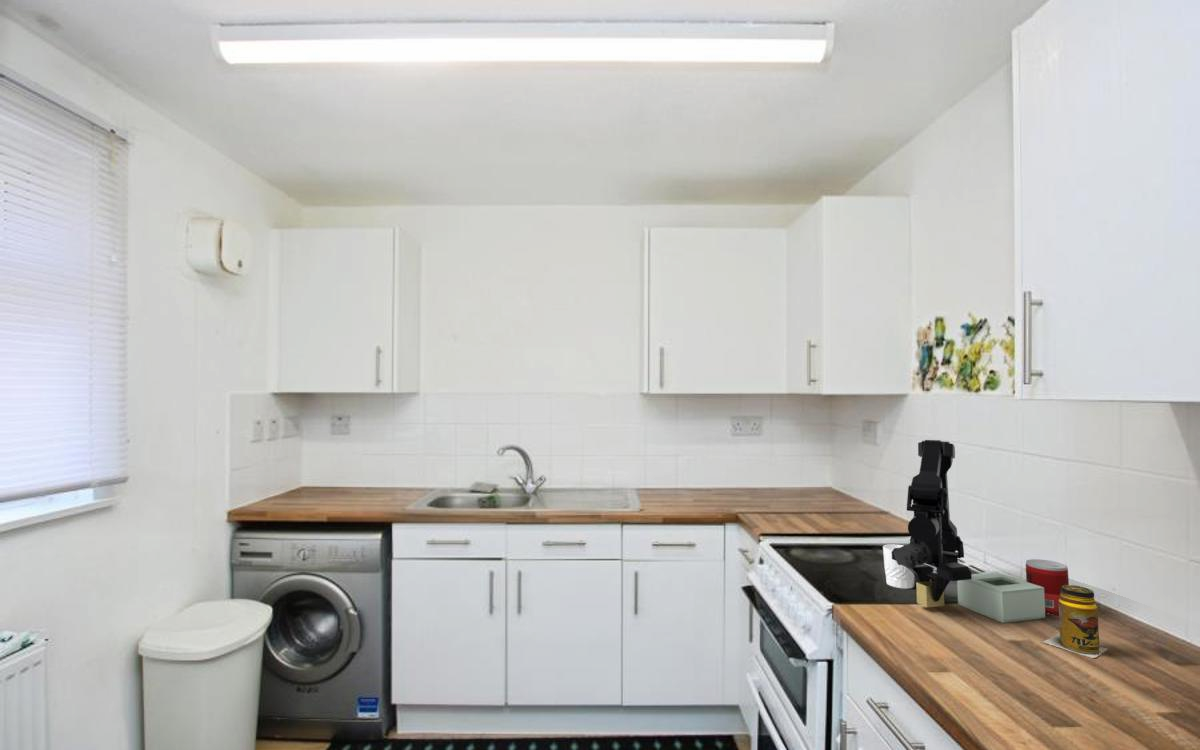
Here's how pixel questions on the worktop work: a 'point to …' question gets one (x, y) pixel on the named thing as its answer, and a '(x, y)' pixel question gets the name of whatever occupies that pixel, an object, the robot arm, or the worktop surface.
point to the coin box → (1002, 597)
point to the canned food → (1048, 580)
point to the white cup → (896, 570)
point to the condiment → (1078, 622)
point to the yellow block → (927, 595)
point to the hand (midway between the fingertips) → (930, 598)
